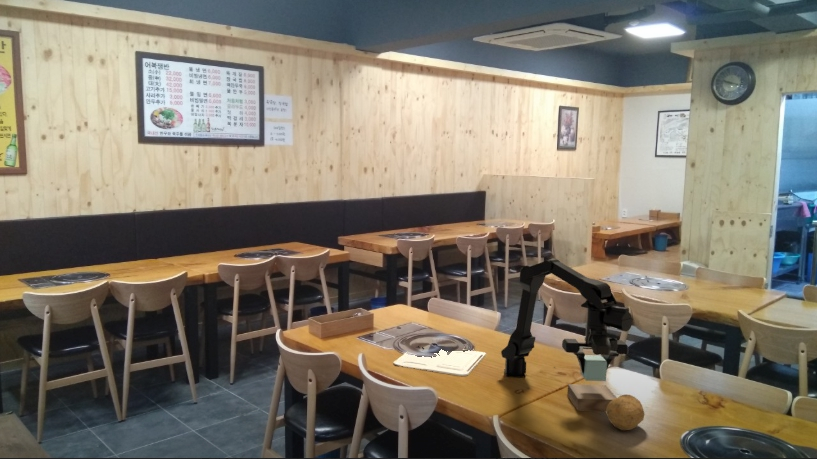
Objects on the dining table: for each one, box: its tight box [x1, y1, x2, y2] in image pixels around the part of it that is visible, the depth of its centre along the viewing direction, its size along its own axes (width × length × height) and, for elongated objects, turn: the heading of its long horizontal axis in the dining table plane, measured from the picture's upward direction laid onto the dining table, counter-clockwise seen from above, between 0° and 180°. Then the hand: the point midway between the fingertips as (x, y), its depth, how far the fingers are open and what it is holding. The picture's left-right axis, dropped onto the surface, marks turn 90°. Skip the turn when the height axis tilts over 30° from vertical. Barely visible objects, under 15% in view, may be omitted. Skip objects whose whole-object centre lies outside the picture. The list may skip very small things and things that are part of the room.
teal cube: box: [580, 354, 608, 382], centre depth 182 cm, size 6×6×6 cm
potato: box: [605, 394, 646, 431], centre depth 166 cm, size 10×14×8 cm
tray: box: [392, 349, 487, 377], centre depth 222 cm, size 28×28×2 cm
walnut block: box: [567, 383, 618, 412], centre depth 183 cm, size 12×12×4 cm
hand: (593, 373), depth 182 cm, fingers closed on teal cube, 6 cm apart
